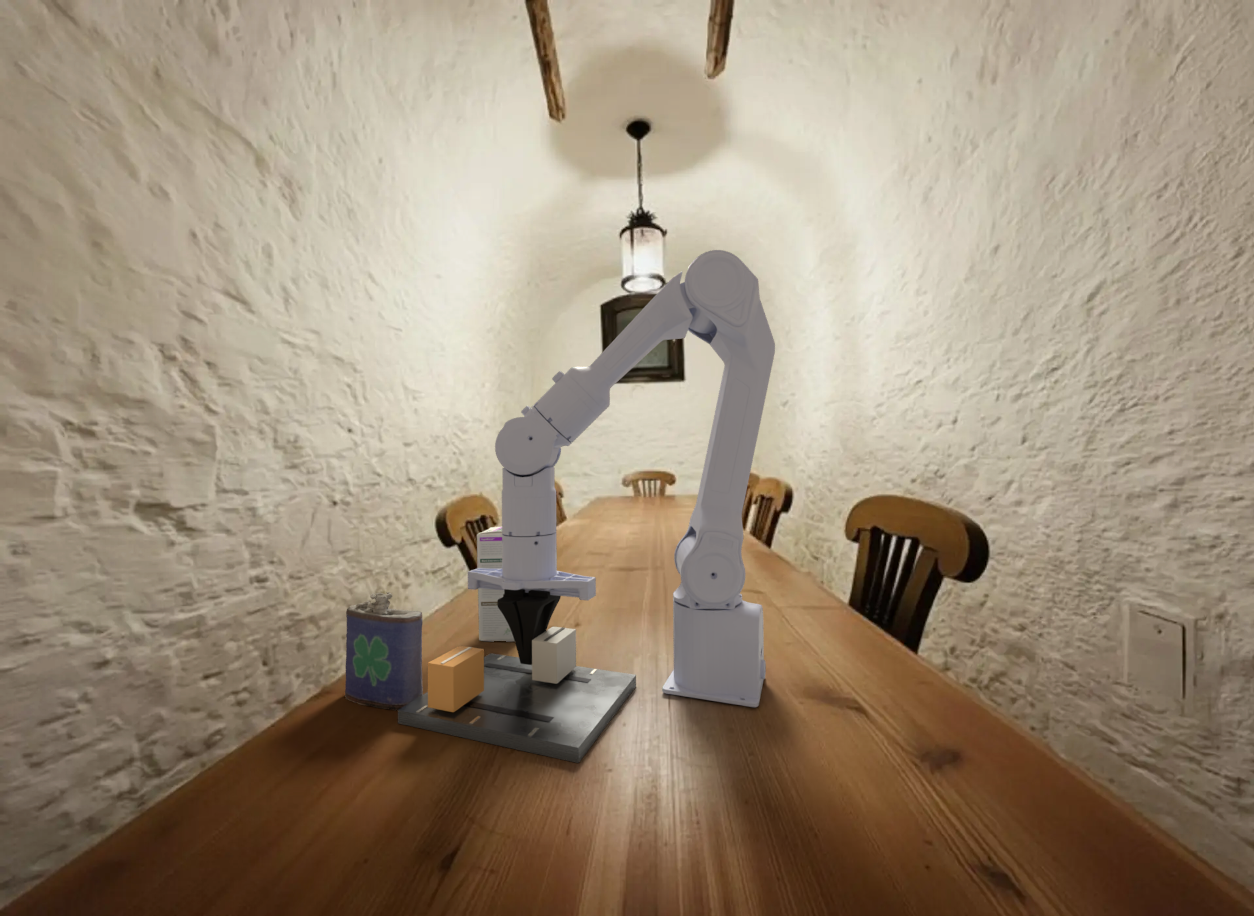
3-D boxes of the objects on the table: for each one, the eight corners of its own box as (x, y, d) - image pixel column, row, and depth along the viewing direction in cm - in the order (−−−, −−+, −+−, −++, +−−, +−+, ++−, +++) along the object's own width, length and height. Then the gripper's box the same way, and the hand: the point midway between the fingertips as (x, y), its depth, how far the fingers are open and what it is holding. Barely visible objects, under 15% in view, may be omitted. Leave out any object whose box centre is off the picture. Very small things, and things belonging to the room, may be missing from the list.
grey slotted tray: (636, 686, 52) (635, 674, 52) (578, 763, 39) (578, 747, 39) (490, 663, 58) (490, 652, 58) (397, 723, 45) (397, 709, 45)
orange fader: (483, 690, 48) (483, 648, 48) (453, 712, 44) (453, 665, 44) (459, 686, 49) (459, 644, 49) (427, 707, 45) (427, 661, 45)
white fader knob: (576, 666, 53) (575, 628, 53) (556, 683, 49) (556, 642, 49) (553, 663, 54) (552, 625, 54) (532, 679, 50) (531, 639, 50)
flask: (428, 701, 49) (427, 593, 49) (405, 716, 46) (404, 600, 46) (360, 686, 52) (359, 585, 52) (335, 699, 50) (334, 592, 50)
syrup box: (521, 642, 65) (521, 531, 65) (476, 642, 65) (476, 531, 65) (530, 627, 71) (530, 525, 71) (489, 627, 71) (489, 525, 71)
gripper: (448, 535, 52) (449, 666, 51) (574, 542, 47) (575, 686, 47) (489, 526, 58) (489, 642, 58) (603, 531, 53) (604, 658, 53)
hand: (530, 660), depth 53 cm, fingers closed
